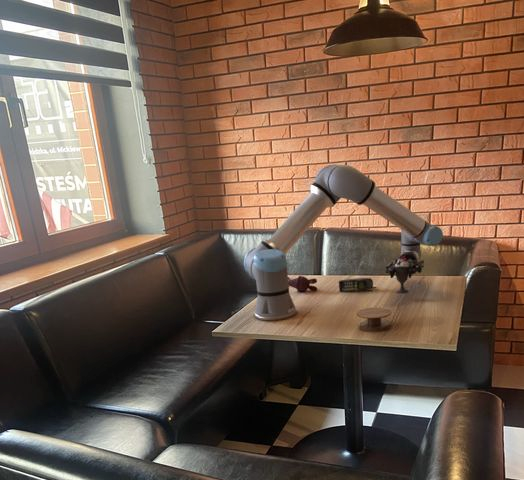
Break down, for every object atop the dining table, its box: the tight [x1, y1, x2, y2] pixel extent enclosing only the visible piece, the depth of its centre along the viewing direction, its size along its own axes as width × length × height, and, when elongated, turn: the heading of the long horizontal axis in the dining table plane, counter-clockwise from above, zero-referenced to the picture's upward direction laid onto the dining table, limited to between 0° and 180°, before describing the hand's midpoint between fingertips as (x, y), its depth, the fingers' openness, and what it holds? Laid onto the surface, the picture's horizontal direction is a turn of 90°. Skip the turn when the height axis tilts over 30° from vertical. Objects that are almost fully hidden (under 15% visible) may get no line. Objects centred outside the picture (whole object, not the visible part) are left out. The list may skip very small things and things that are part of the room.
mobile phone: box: [338, 277, 377, 293], centre depth 219 cm, size 5×3×15 cm
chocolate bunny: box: [288, 275, 318, 293], centre depth 227 cm, size 7×7×15 cm
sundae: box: [393, 252, 411, 295], centre depth 198 cm, size 7×7×15 cm
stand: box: [356, 307, 392, 333], centre depth 174 cm, size 11×11×5 cm
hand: (400, 274), depth 193 cm, fingers closed on sundae, 6 cm apart
